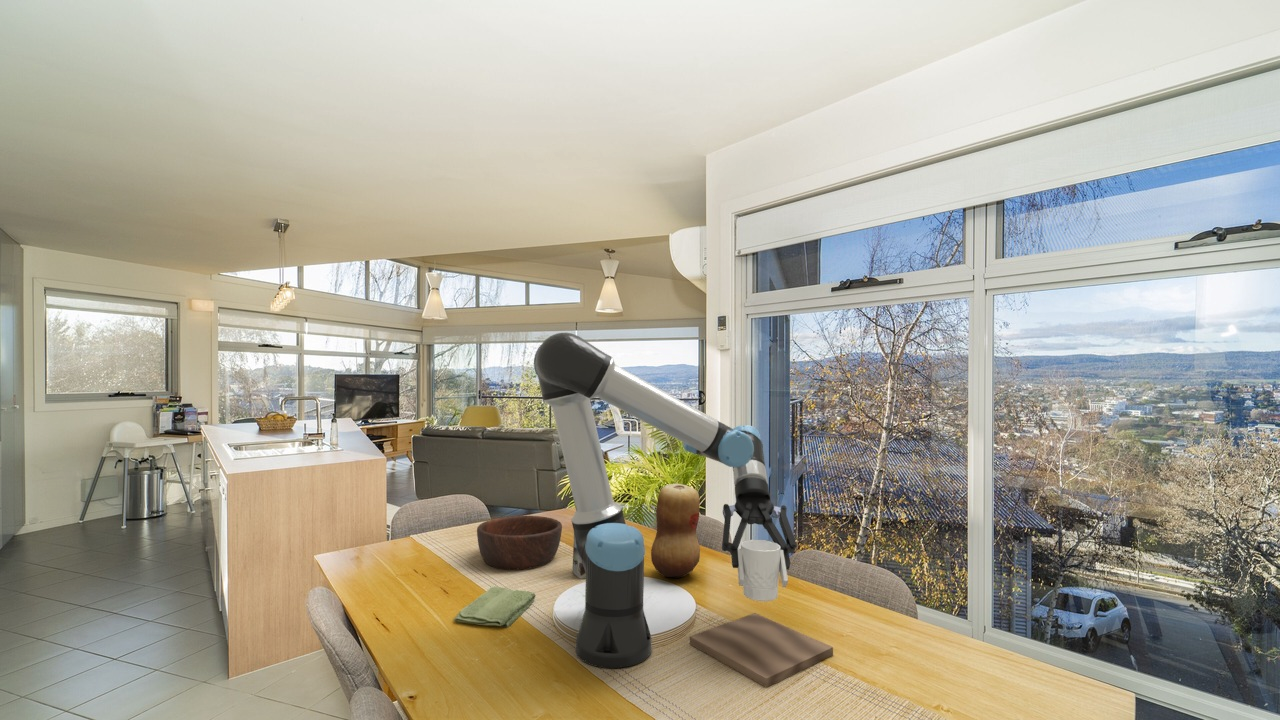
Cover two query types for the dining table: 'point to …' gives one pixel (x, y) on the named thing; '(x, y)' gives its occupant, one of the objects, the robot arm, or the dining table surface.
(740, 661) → the walnut board
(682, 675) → the dining table surface
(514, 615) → the washcloth
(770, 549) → the white cup
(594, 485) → the robot arm
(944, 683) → the dining table surface
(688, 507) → the butternut squash
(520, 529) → the wooden bowl
